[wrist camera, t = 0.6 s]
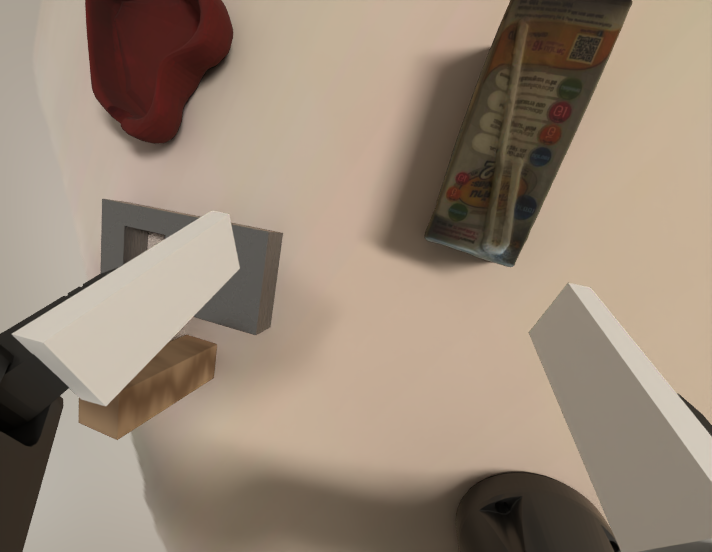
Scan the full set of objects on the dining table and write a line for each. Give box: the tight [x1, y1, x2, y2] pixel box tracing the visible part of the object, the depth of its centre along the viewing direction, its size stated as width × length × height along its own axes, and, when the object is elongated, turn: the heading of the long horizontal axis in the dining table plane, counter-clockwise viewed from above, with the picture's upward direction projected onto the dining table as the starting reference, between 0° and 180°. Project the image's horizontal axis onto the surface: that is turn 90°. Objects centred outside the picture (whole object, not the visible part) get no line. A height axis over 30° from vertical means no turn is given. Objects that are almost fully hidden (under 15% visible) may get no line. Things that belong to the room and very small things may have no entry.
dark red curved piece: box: [85, 0, 233, 143], centre depth 30 cm, size 18×16×5 cm
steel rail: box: [101, 199, 283, 335], centre depth 33 cm, size 12×24×3 cm, turn 80°
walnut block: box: [79, 335, 217, 440], centre depth 31 cm, size 5×5×12 cm
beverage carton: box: [425, 0, 632, 267], centre depth 22 cm, size 8×19×7 cm, turn 162°
